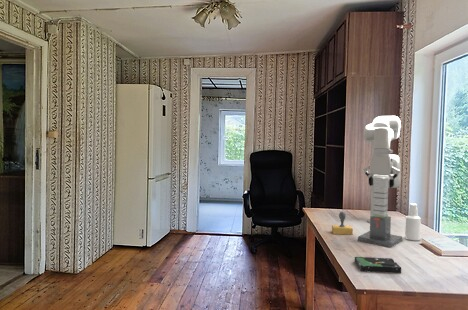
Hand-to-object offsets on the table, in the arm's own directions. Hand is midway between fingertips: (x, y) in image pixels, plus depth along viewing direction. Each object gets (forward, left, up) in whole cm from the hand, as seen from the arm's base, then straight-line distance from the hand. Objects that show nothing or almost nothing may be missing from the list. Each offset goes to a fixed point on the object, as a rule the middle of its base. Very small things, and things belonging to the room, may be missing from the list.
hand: (381, 186), depth 164 cm
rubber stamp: (0, -20, -28) cm, 34 cm away
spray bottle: (-15, +11, -28) cm, 33 cm away
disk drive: (+39, +12, -28) cm, 49 cm away
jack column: (0, 0, -18) cm, 18 cm away
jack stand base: (0, 0, -27) cm, 27 cm away
